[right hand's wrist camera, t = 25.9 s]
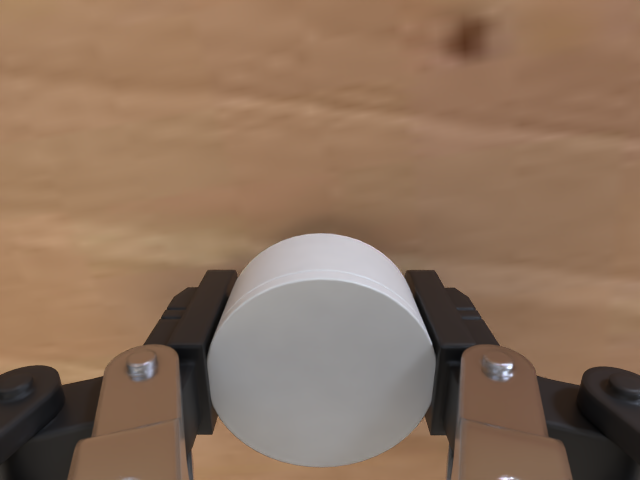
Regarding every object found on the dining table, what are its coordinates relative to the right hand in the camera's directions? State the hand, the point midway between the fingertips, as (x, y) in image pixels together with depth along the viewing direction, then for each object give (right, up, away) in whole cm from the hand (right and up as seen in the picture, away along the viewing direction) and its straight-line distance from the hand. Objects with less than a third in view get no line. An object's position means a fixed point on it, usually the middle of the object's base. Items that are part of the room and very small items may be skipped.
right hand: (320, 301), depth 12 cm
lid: (0, -1, -3) cm, 3 cm away
